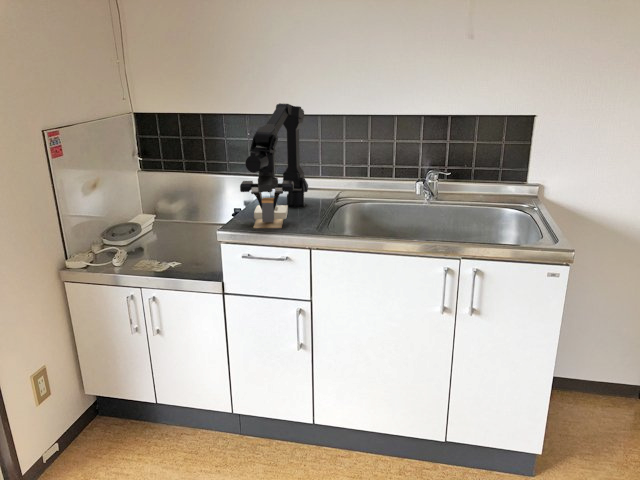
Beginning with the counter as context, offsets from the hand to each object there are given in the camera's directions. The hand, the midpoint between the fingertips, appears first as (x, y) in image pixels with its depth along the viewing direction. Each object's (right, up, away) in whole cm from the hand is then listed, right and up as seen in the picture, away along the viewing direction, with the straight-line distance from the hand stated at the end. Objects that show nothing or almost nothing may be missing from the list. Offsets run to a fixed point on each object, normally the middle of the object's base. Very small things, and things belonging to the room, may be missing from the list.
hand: (268, 209), depth 194 cm
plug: (0, -4, +1) cm, 4 cm away
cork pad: (0, -5, +2) cm, 6 cm away
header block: (0, -2, +12) cm, 12 cm away
